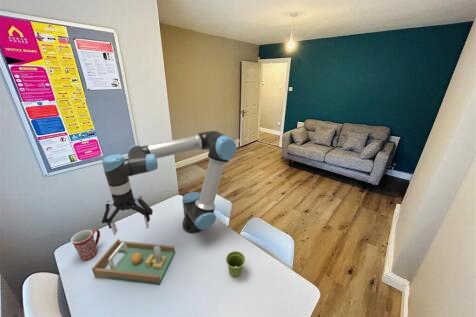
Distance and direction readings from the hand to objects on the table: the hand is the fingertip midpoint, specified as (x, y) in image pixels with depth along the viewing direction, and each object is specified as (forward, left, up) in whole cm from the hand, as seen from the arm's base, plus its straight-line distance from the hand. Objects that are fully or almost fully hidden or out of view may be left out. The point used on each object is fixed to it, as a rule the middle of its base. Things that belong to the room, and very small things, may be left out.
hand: (132, 229), depth 90 cm
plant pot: (-44, +20, -24) cm, 54 cm away
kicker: (-7, +3, -21) cm, 23 cm away
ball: (+1, -2, -19) cm, 19 cm away
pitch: (+2, -2, -24) cm, 24 cm away
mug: (+25, -19, -24) cm, 39 cm away
